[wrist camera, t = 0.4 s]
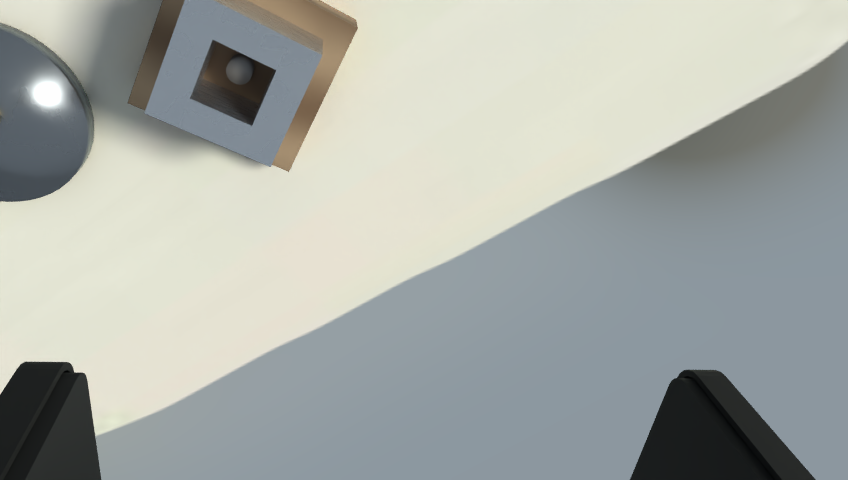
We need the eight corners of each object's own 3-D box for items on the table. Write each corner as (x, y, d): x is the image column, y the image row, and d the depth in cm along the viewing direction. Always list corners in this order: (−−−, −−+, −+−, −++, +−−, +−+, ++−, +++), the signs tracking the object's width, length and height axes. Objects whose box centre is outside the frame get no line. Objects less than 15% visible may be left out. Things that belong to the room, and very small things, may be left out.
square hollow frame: (203, -23, 33) (189, -13, 30) (322, 39, 36) (322, 55, 32) (161, 91, 36) (144, 113, 32) (275, 141, 38) (270, 167, 35)
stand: (194, -68, 34) (179, -63, 31) (356, 19, 38) (358, 33, 34) (139, 90, 38) (120, 111, 35) (290, 157, 41) (287, 181, 38)
